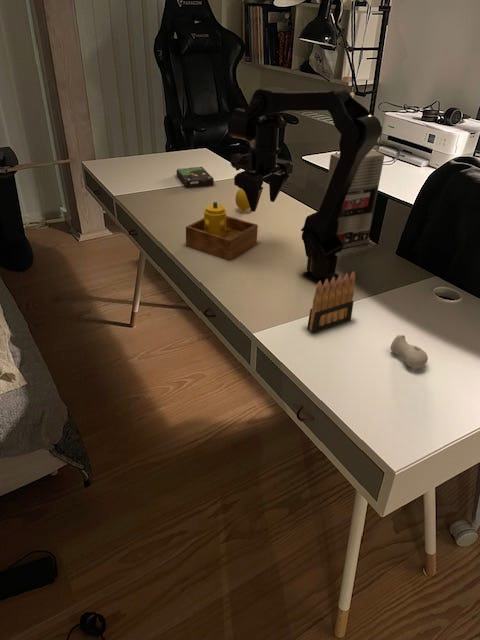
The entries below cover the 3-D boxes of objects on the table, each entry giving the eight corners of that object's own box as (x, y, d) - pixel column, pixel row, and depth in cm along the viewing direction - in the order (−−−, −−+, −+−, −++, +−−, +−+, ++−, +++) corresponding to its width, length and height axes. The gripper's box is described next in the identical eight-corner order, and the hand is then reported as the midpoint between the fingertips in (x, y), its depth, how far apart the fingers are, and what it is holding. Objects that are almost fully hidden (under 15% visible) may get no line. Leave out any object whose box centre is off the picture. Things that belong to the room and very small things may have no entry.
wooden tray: (256, 243, 142) (258, 224, 139) (229, 260, 132) (229, 240, 129) (215, 229, 148) (215, 212, 145) (186, 245, 139) (185, 226, 136)
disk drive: (214, 186, 181) (202, 173, 193) (214, 178, 180) (202, 166, 191) (186, 188, 178) (175, 175, 190) (186, 180, 177) (175, 167, 188)
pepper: (230, 234, 140) (231, 203, 135) (214, 240, 136) (214, 208, 132) (215, 227, 144) (216, 197, 139) (199, 233, 140) (199, 201, 135)
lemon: (250, 215, 159) (251, 190, 155) (233, 213, 160) (234, 188, 156) (253, 208, 164) (255, 184, 159) (237, 207, 165) (237, 183, 160)
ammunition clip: (312, 333, 105) (319, 283, 99) (306, 329, 107) (313, 279, 100) (350, 320, 110) (360, 272, 104) (345, 316, 111) (354, 268, 105)
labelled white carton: (330, 252, 139) (344, 160, 125) (318, 243, 143) (330, 154, 130) (369, 243, 144) (387, 155, 131) (356, 235, 149) (372, 149, 135)
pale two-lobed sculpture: (427, 374, 97) (409, 373, 95) (401, 350, 103) (383, 349, 101) (438, 356, 95) (420, 355, 93) (411, 332, 101) (393, 331, 99)
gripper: (259, 132, 132) (256, 190, 141) (216, 146, 119) (216, 209, 127) (296, 139, 127) (291, 199, 135) (255, 154, 114) (252, 219, 122)
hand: (262, 206), depth 130 cm, fingers open, 9 cm apart
